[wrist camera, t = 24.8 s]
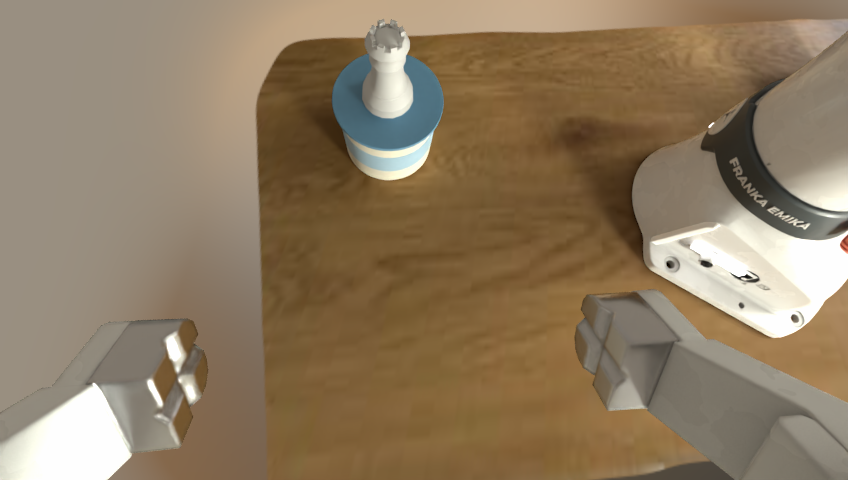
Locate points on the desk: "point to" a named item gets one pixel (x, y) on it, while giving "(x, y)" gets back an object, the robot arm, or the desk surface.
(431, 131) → the yogurt tub
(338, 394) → the desk surface
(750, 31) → the desk surface
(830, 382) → the desk surface
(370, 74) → the rook chess piece
